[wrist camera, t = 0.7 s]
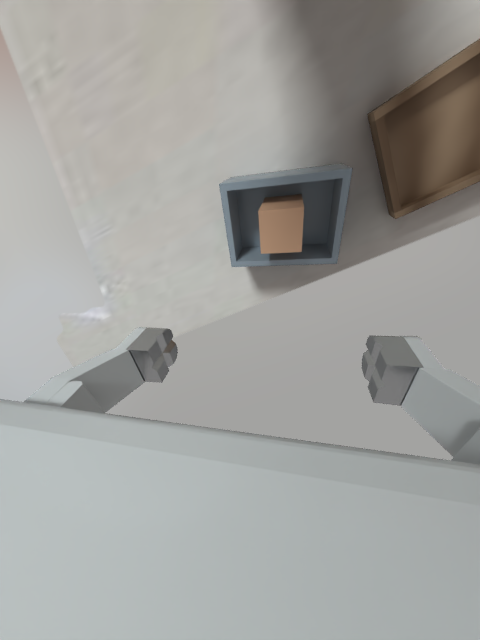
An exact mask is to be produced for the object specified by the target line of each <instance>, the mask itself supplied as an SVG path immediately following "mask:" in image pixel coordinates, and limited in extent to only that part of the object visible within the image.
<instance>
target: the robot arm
mask: <svg viewBox="0 0 480 640" xmlns="http://www.w3.org/2000/svg"><path fill="white" fill-rule="evenodd" d="M172 338H173V334H172V332H171V330H170V329H165V328H147V327H139V328H136V329H135V330H134V331H133V332H132V333H131V334H130V335H129V336H128V337H127V338H126V339H125V340H124V341H123V342H122V343H121V344H120V345H119V346H118V347H117V348H116V349H111V350H109V351H107V352H105V353H103V354H101V355H99V356H97V357H94V358H92V359H90V360H88V361H86V362H84V363H82V364H80V365H78V366H75V367H73V368H71V369H69V370H67V371H65V372H63V373H61V374H59V375H56V376H54V377H52V378H51V379H50V380H49V381H48V382H46V383H45V384H44V385H43V386H42V387H40V388H39V389H38V390H37V391H36V392H35V393H34V394H32V395H31V396H30V397H29V398H28V399H27V400H25V401H24V402H18V401H11V400H3V399H0V640H480V386H479V385H478V384H476V383H474V382H472V381H470V380H468V379H467V378H465V377H463V376H461V375H459V374H457V373H456V372H454V371H452V370H449V369H444V368H443V366H442V365H441V364H440V363H439V361H438V360H437V359H436V357H435V356H434V355H433V353H432V352H431V351H430V350H429V348H428V347H427V346H426V345H425V343H424V342H423V341H422V339H421V338H419V337H417V336H400V337H395V336H369V338H368V339H367V343H366V345H367V348H368V350H367V351H366V352H365V353H364V354H363V358H362V370H363V374H364V377H365V378H366V379H367V380H368V381H369V386H368V389H369V391H370V394H371V397H372V399H373V402H375V403H383V404H392V405H400V406H401V408H403V409H404V410H405V411H406V412H407V413H408V414H409V415H410V416H411V417H412V418H413V419H414V420H415V421H416V422H417V423H418V424H419V425H420V426H421V427H422V428H423V429H425V430H426V431H427V432H428V433H429V434H430V435H431V436H432V437H433V438H434V439H435V440H436V441H437V442H438V443H440V445H441V446H442V447H443V448H444V449H445V450H447V451H448V452H449V453H450V454H451V455H452V456H453V457H454V458H453V459H452V460H443V459H436V458H428V457H420V456H414V455H407V454H399V453H392V452H385V451H378V450H370V449H363V448H355V447H348V446H341V445H333V444H326V443H318V442H311V441H303V440H296V439H288V438H281V437H274V436H267V435H259V434H252V433H245V432H237V431H230V430H223V429H216V428H208V427H201V426H194V425H187V424H179V423H172V422H164V421H157V420H150V419H142V418H135V417H128V416H121V415H113V414H106V413H105V412H107V411H108V410H109V409H110V408H112V407H113V406H114V405H116V404H117V403H118V402H120V401H121V400H122V399H124V398H125V397H126V396H127V395H129V394H130V393H131V392H133V391H134V390H135V389H137V388H138V387H139V386H140V385H142V384H143V383H144V381H145V382H161V383H162V382H163V380H164V378H165V377H166V375H167V373H168V372H169V369H168V367H169V366H171V365H172V364H173V363H174V362H175V360H176V358H177V353H178V352H177V346H176V344H175V343H174V342H173V341H172Z"/></svg>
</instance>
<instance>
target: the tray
mask: <svg viewBox="0 0 480 640" xmlns="http://www.w3.org/2000/svg"><path fill="white" fill-rule="evenodd" d="M367 115H368V120H369V124H370V129H371V134H372V138H373V143H374V147H375V152H376V157H377V161H378V166H379V170H380V175H381V180H382V184H383V189H384V193H385V198H386V202H387V207H388V212H389V215H391V216H392V217H393V218H395V219H397V218H399V217H402V216H404V215H406V214H408V213H410V212H413V211H415V210H417V209H419V208H422V207H424V206H426V205H428V204H430V203H433V202H435V201H437V200H439V199H442V198H444V197H446V196H448V195H450V194H453V193H455V192H457V191H459V190H462V189H464V188H466V187H468V186H470V185H473V184H475V183H477V182H479V181H480V39H479V40H477V41H476V42H474V43H473V44H471V45H470V46H468V47H467V48H465V49H464V50H462V51H461V52H459V53H458V54H456V55H455V56H453V57H452V58H450V59H449V60H447V61H446V62H444V63H443V64H441V65H440V66H438V67H437V68H436V69H434V70H433V71H431V72H430V73H428V74H427V75H425V76H424V77H422V78H421V79H419V80H418V81H416V82H415V83H413V84H412V85H410V86H409V87H407V88H406V89H404V90H403V91H401V92H400V93H398V94H397V95H395V96H394V97H392V98H391V99H389V100H388V101H386V102H385V103H383V104H382V105H381V106H379V107H378V108H376V109H375V110H373V111H372V112H370V113H369V114H367Z"/></svg>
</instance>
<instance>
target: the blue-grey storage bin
mask: <svg viewBox="0 0 480 640" xmlns="http://www.w3.org/2000/svg"><path fill="white" fill-rule="evenodd" d="M351 174H352V168H351V167H349V166H346V165H344V164H334V165H326V166H318V167H310V168H302V169H294V170H286V171H278V172H270V173H262V174H254V175H246V176H238V177H231V178H229V179H227V180H225V181H224V182H222V183H220V184H219V186H220V193H221V199H222V206H223V213H224V219H225V226H226V232H227V239H228V246H229V252H230V259H231V265H232V267H246V266H277V265H308V264H337V261H338V255H339V248H340V242H341V236H342V230H343V224H344V218H345V211H346V205H347V199H348V193H349V187H350V181H351ZM295 194H302V198H303V204H304V218H303V236H302V252H291V253H268V254H261V247H260V231H259V215H258V211H259V209H260V207H261V205H262V203H263V201H264V199H265V197H275V196H285V195H295Z"/></svg>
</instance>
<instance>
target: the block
mask: <svg viewBox="0 0 480 640" xmlns="http://www.w3.org/2000/svg"><path fill="white" fill-rule="evenodd" d="M258 215H259V231H260V247H261V254H268V253H291V252H302V236H303V218H304V204H303V198H302V194H295V195H285V196H275V197H265V199H264V201H263V203H262V205H261V207H260V209H259V211H258Z"/></svg>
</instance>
